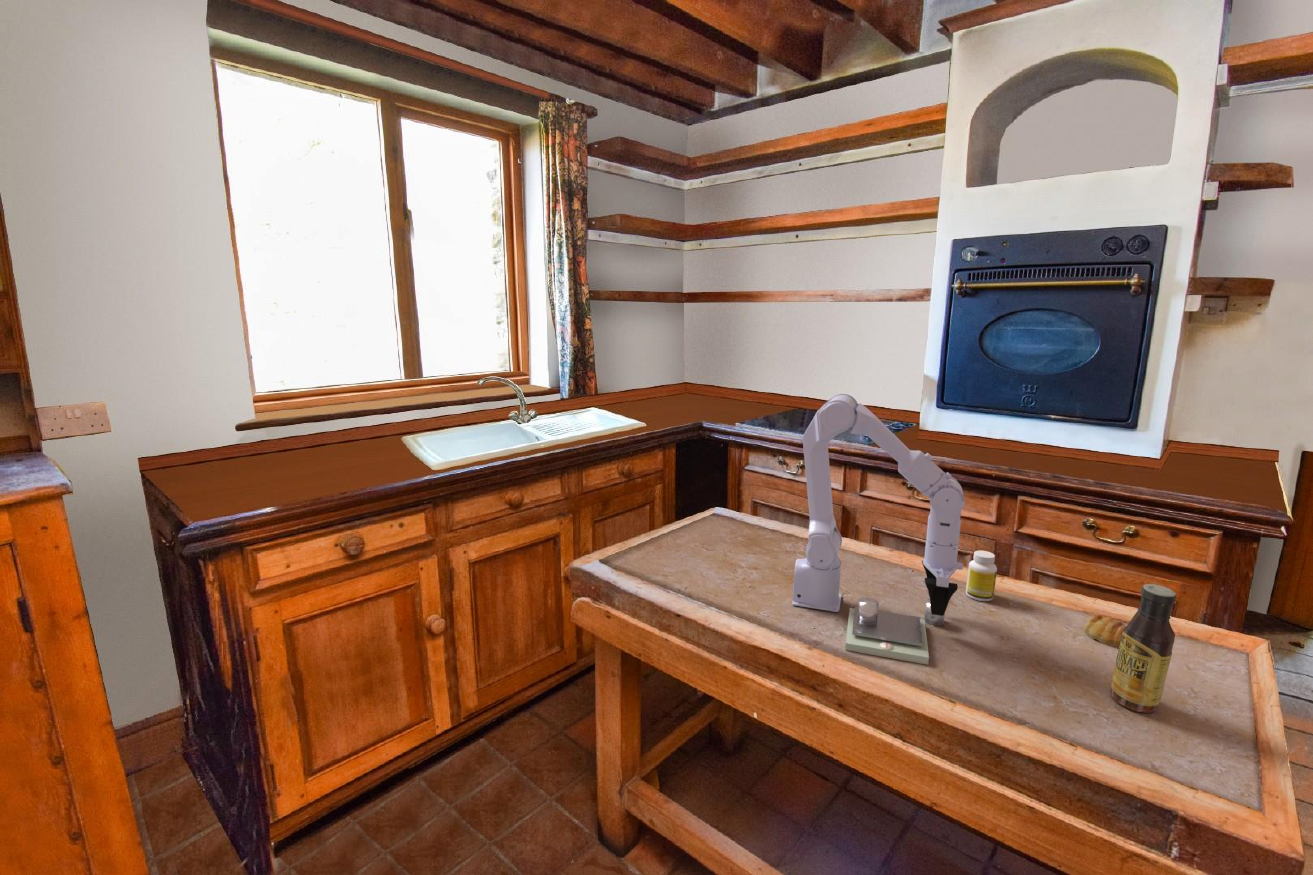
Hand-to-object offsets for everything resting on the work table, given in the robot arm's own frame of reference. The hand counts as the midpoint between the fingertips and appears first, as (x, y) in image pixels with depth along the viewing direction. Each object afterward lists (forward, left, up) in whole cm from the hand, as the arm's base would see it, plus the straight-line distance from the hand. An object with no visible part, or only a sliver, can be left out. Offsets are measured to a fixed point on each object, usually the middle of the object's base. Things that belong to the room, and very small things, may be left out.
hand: (936, 605), depth 121 cm
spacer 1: (-13, -9, -1) cm, 16 cm away
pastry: (+31, +4, -4) cm, 32 cm away
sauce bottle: (+28, -17, -4) cm, 33 cm away
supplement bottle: (+10, +15, -4) cm, 18 cm away
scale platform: (-9, -9, -3) cm, 13 cm away
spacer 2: (0, 0, -4) cm, 4 cm away
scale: (-9, -9, -4) cm, 14 cm away
